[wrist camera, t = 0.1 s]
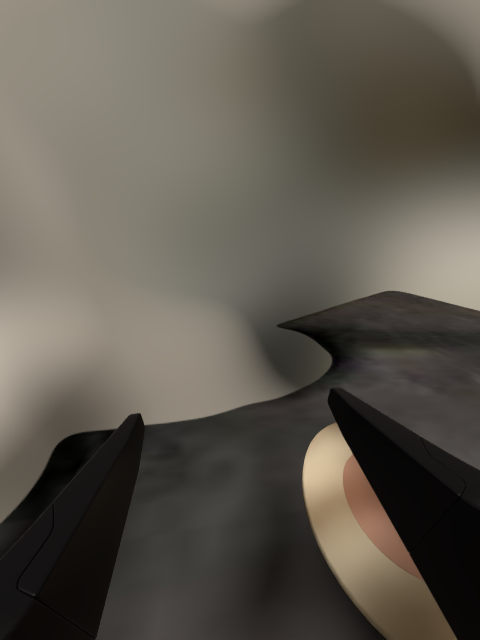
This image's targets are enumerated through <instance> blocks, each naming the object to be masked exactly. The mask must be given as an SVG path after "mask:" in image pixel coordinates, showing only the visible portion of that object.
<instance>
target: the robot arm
mask: <svg viewBox="0 0 480 640" xmlns="http://www.w3.org/2000/svg"><path fill="white" fill-rule="evenodd" d="M328 405H329V407H330V409H331V411H332V414H333V416H334V418H335V420H336V423H337V425H338V427H339V429H340V431H341V434H342V436H343V437H344V439H345V441H346V443H347V445H348V446H349V448H350V450H351V452H352V453H353V455H354V457H355V459H356V461H357V462H358V464H359V466H360V468H361V469H362V471H363V473H364V475H365V476H366V478H367V480H368V482H369V484H370V485H371V487H372V489H373V491H374V492H375V494H376V496H377V498H378V500H379V501H380V503H381V505H382V507H383V508H384V510H385V512H386V514H387V516H388V517H389V519H390V521H391V523H392V524H393V526H394V528H395V530H396V531H397V533H398V535H399V537H400V539H401V540H402V542H403V544H404V546H405V547H406V549H407V551H408V552H409V555H410V557H411V558H412V560H413V562H414V564H415V565H416V567H417V569H418V571H419V573H420V574H421V576H422V578H423V580H424V581H425V583H426V585H427V587H428V589H429V590H430V592H431V594H432V596H433V597H434V599H435V601H436V603H437V605H438V606H439V608H440V610H441V612H442V613H443V615H444V617H445V619H446V620H447V622H448V624H449V626H450V628H451V629H452V631H453V633H454V635H455V636H456V638H457V640H480V470H478V469H476V468H475V467H473V466H471V465H469V464H467V463H465V462H464V461H462V460H460V459H458V458H456V457H455V456H453V455H451V454H449V453H447V452H446V451H444V450H442V449H441V448H439V447H437V446H436V445H434V444H432V443H431V442H429V441H427V440H426V439H424V438H422V437H420V436H419V435H417V434H416V433H414V432H412V431H411V430H409V429H408V428H406V427H404V426H403V425H401V424H399V423H398V422H396V421H394V420H393V419H391V418H390V417H388V416H386V415H385V414H383V413H381V412H380V411H378V410H376V409H375V408H373V407H372V406H370V405H368V404H367V403H365V402H363V401H362V400H360V399H358V398H357V397H355V396H353V395H352V394H350V393H349V392H347V391H345V390H344V389H342V388H340V387H333V388H331V389H330V392H329V396H328ZM144 431H145V426H144V422H143V419H142V416H141V414H140V413H137V414H131V415H129V416H128V417H127V418H126V419H125V421H124V422H123V423H122V424H121V425H120V426H119V427H118V429H117V430H116V431H115V432H114V433H113V434H112V435H111V437H110V438H109V439H108V440H107V441H106V442H105V443H104V444H103V446H102V447H101V448H100V449H99V450H98V451H97V452H96V454H95V455H94V456H93V457H92V458H91V459H90V460H89V462H88V463H87V464H86V465H85V466H84V467H83V468H82V470H81V471H80V472H79V473H78V474H77V475H76V476H75V477H74V479H73V480H72V481H71V482H70V483H69V484H68V485H67V487H66V488H65V489H64V490H63V491H62V492H61V493H60V495H59V496H58V497H57V498H56V499H55V500H54V502H53V504H51V505H50V506H49V507H48V508H47V509H46V510H45V512H44V513H43V514H42V515H41V516H40V517H39V518H38V519H37V520H36V522H35V523H34V524H33V525H32V526H31V527H30V528H29V529H28V530H27V532H26V533H25V534H24V535H23V536H22V537H21V538H20V539H19V540H18V541H17V542H16V543H15V544H14V545H13V546H12V547H11V549H10V550H9V551H8V552H7V553H6V554H5V555H4V556H3V557H2V558H1V559H0V640H95V638H96V637H97V633H98V629H99V625H100V621H101V617H102V613H103V609H104V605H105V601H106V597H107V593H108V589H109V585H110V582H111V578H112V574H113V570H114V566H115V562H116V558H117V554H118V550H119V546H120V542H121V538H122V534H123V530H124V526H125V522H126V518H127V514H128V510H129V506H130V503H131V499H132V495H133V491H134V487H135V483H136V479H137V475H138V470H139V465H140V459H141V452H142V445H143V438H144Z"/></svg>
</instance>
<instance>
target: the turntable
mask: <svg viewBox="0 0 480 640" xmlns="http://www.w3.org/2000/svg"><path fill="white" fill-rule="evenodd" d="M302 490H303V499H304V504H305V509H306V513H307V517H308V520H309V523H310V526H311V529H312V532H313V534H314V537H315V539H316V542H317V544H318V546H319V548H320V550H321V552H322V554H323V556H324V558H325V560H326V562H327V564H328V566H329V568H330V569H331V571H332V572H333V574H334V576H335V577H336V579H337V581H338V582H339V584H340V585H341V587H342V588H343V590H344V591H345V592H346V594H347V595H348V596H349V598H350V599H351V600H352V602H353V603H354V605H355V606H356V607H357V608H358V609H359V610H360V612H361V613H362V614H363V615H364V616H365V617H366V619H367V620H368V621H369V622H370V623H371V624H372V626H373V627H375V628H376V629H377V630H378V631H379V632H380V633H381V634H382V635H383V636H384V637H385V638H386V639H387V640H457V638H456V636H455V635H454V633H453V631H452V629H451V628H450V626H449V624H448V622H447V620H446V619H445V617H444V615H443V613H442V612H441V610H440V608H439V606H438V605H437V603H436V601H435V599H434V597H433V596H432V594H431V592H430V590H429V589H428V587H427V585H426V583H425V581H424V580H423V578H422V576H421V574H420V573H419V571H418V569H417V567H416V565H415V564H414V562H413V560H412V558H411V557H410V555H409V552H408V551H407V549H406V547H405V546H404V544H403V542H402V540H401V539H400V537H399V535H398V533H397V531H396V530H395V528H394V526H393V524H392V523H391V521H390V519H389V517H388V516H387V514H386V512H385V510H384V508H383V507H382V505H381V503H380V501H379V500H378V498H377V496H376V494H375V492H374V491H373V489H372V487H371V485H370V484H369V482H368V480H367V478H366V476H365V475H364V473H363V471H362V469H361V468H360V466H359V464H358V462H357V461H356V459H355V457H354V455H353V453H352V452H351V450H350V448H349V446H348V445H347V443H346V441H345V439H344V437H343V436H342V434H341V431H340V429H339V427H338V425H337V423H334V424H332V425H329V426H327V427H326V428H324V429H323V430H321V431H320V432H319V433H318V434H317V435H316V436H315V438H314V439H313V440H312V442H311V444H310V446H309V448H308V450H307V453H306V457H305V461H304V466H303V472H302Z"/></svg>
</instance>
